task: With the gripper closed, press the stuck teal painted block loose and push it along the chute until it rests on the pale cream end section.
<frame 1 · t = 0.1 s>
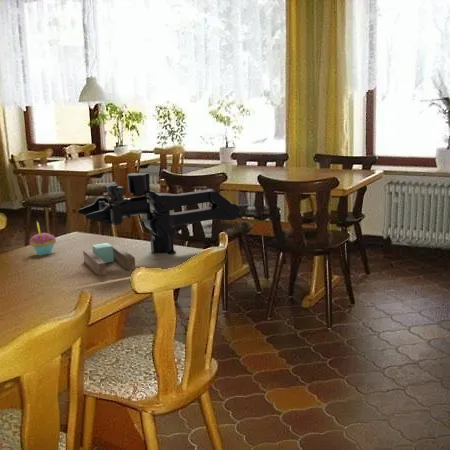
hand: (81, 214, 199), 17 cm above the table, tool horizontal, fingers open, 9 cm apart
teal block: (103, 253, 204), point 3 cm above the table, slide at 0.0 cm
chute: (109, 267, 200), on the table
cupcake: (44, 254, 220), on the table
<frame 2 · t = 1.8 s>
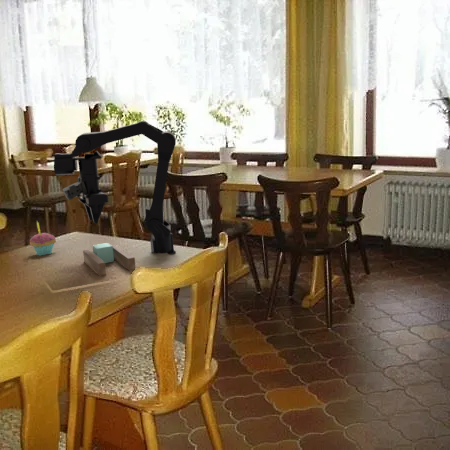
hand: (93, 221, 209), 12 cm above the table, tool pointing down, fingers open, 5 cm apart
nothing on the table moved.
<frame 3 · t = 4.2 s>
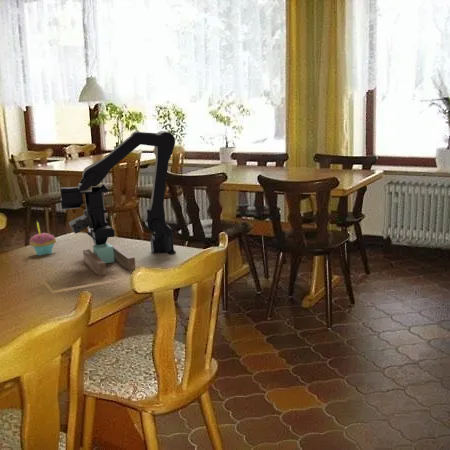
hand: (100, 254, 208), 2 cm above the table, tool pointing down, fingers closed
teal block: (103, 253, 204), point 3 cm above the table, slide at 0.7 cm, touching gripper
everything else where it was.
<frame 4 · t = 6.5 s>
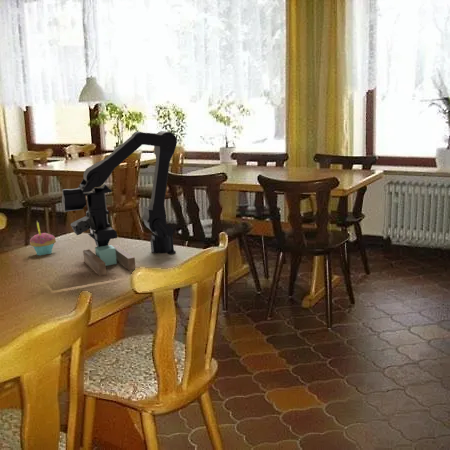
hand: (102, 255, 206), 2 cm above the table, tool pointing down, fingers closed
teal block: (105, 255, 201), point 3 cm above the table, slide at 3.2 cm, touching gripper
everything else where it was.
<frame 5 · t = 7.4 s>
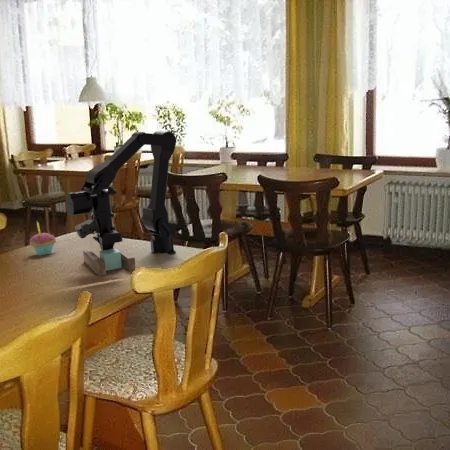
hand: (106, 259, 201), 2 cm above the table, tool pointing down, fingers closed
teal block: (110, 259, 197), point 3 cm above the table, slide at 8.4 cm, touching gripper
everything else where it was.
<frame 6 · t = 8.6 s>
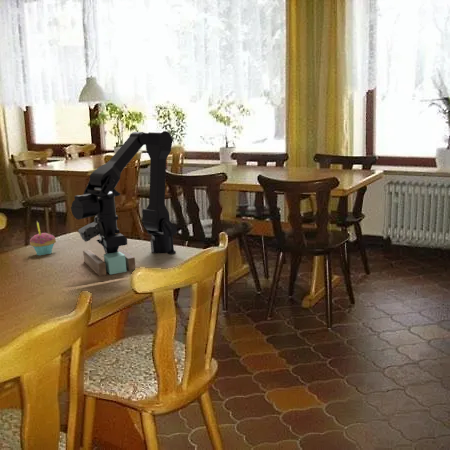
hand: (110, 263, 197), 2 cm above the table, tool pointing down, fingers closed
teal block: (115, 262, 193), point 3 cm above the table, slide at 13.0 cm, touching gripper
everything else where it was.
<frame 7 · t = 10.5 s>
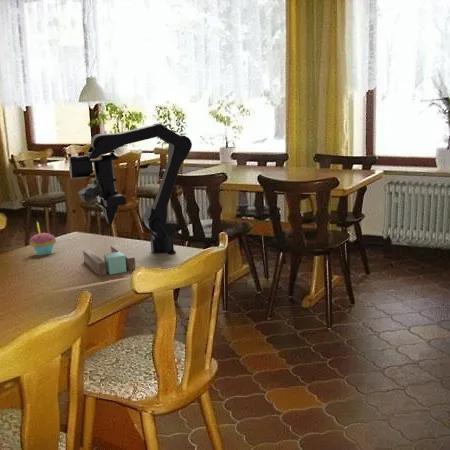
hand: (110, 224, 205), 12 cm above the table, tool pointing down, fingers closed
teal block: (115, 262, 193), point 3 cm above the table, slide at 13.0 cm
everything else where it was.
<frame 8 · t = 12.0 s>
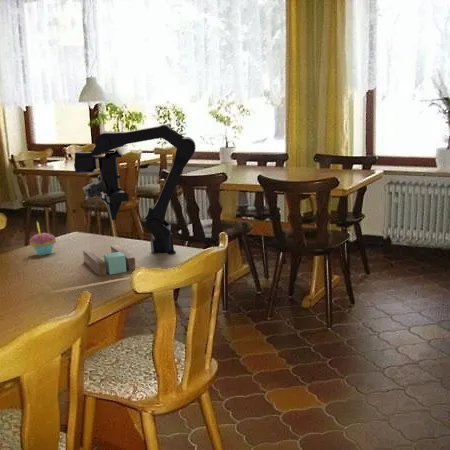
hand: (113, 219, 210), 12 cm above the table, tool pointing down, fingers closed
nothing on the table moved.
at the end: teal block slide at 13.0 cm; teal block inside the target area (0.2 cm from its centre), point 3.2 cm above the table; the gripper is holding nothing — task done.
